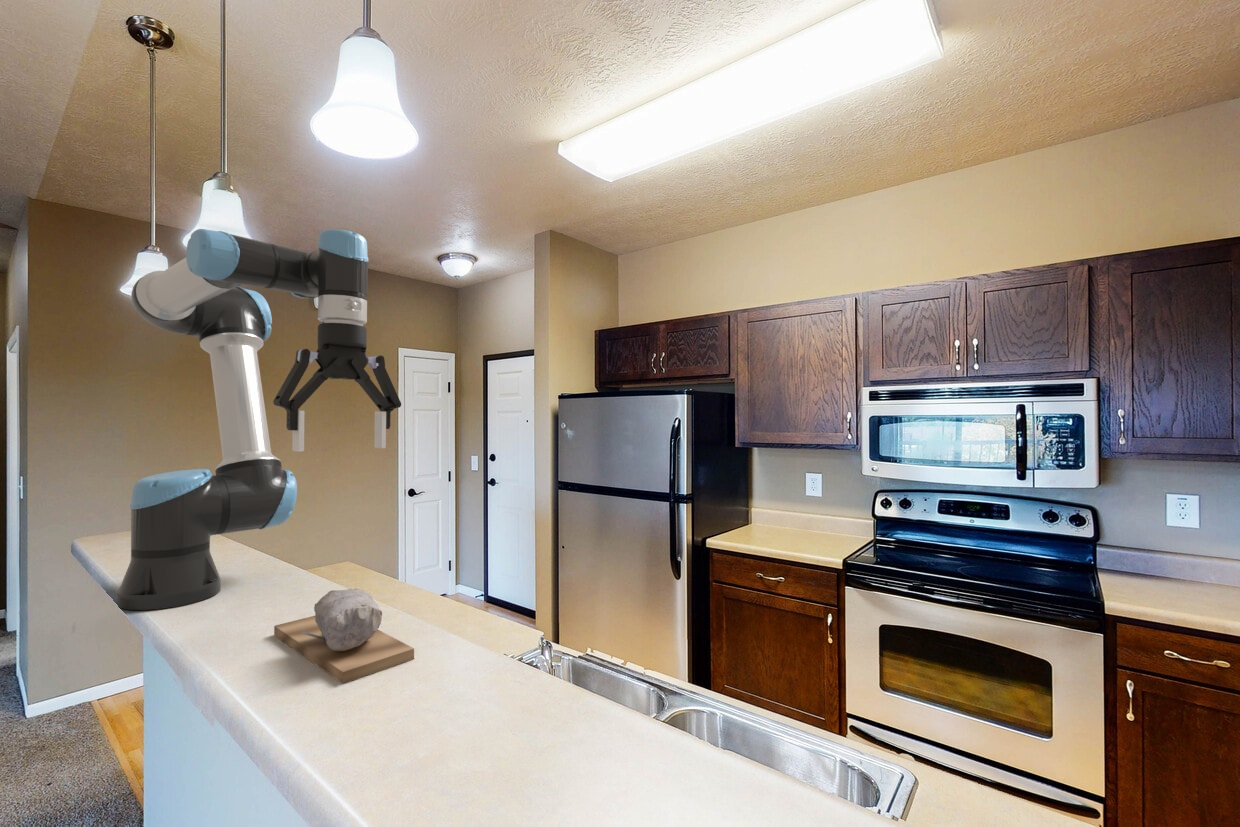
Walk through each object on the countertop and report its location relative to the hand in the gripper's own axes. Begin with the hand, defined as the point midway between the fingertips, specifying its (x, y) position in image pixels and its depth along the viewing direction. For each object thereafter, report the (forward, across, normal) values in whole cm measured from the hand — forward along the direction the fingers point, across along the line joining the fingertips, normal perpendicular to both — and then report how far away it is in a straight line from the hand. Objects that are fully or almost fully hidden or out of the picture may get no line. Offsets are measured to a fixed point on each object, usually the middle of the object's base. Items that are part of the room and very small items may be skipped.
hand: (341, 449), depth 97 cm
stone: (+27, -5, -14) cm, 31 cm away
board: (+29, -5, -12) cm, 32 cm away
